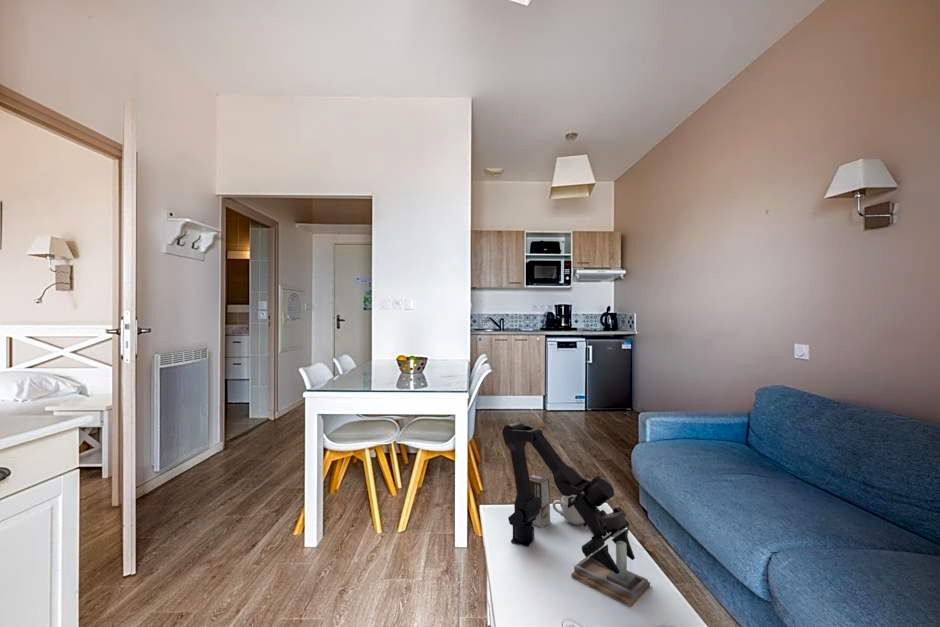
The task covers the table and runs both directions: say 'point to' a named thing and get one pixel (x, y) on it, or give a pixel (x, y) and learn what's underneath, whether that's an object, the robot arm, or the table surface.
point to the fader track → (595, 577)
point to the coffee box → (541, 498)
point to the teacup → (568, 511)
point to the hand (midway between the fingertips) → (626, 566)
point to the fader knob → (622, 568)
